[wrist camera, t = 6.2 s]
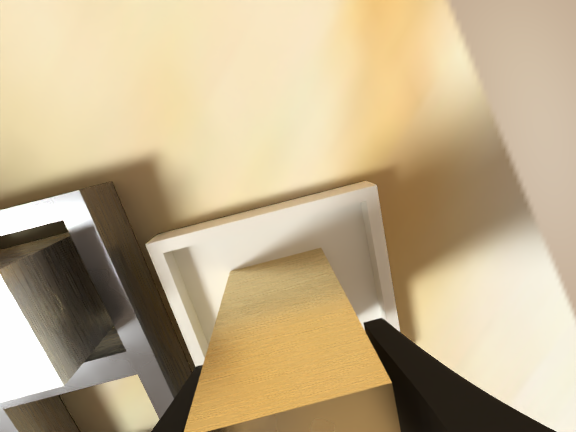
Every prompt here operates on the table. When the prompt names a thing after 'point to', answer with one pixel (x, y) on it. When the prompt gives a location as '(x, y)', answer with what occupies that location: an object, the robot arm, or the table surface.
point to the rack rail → (79, 312)
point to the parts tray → (277, 255)
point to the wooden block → (290, 356)
